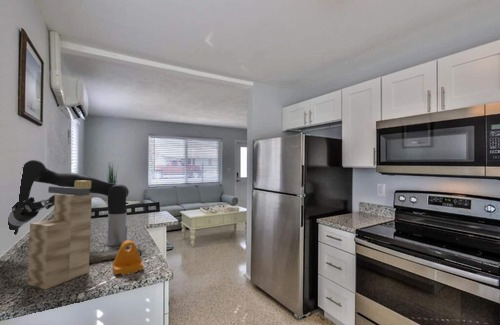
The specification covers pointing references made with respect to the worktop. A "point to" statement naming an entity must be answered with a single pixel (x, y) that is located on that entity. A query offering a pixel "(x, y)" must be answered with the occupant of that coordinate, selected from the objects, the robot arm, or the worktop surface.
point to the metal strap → (73, 188)
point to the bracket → (127, 259)
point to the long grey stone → (104, 255)
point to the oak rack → (60, 242)
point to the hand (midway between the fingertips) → (44, 197)
